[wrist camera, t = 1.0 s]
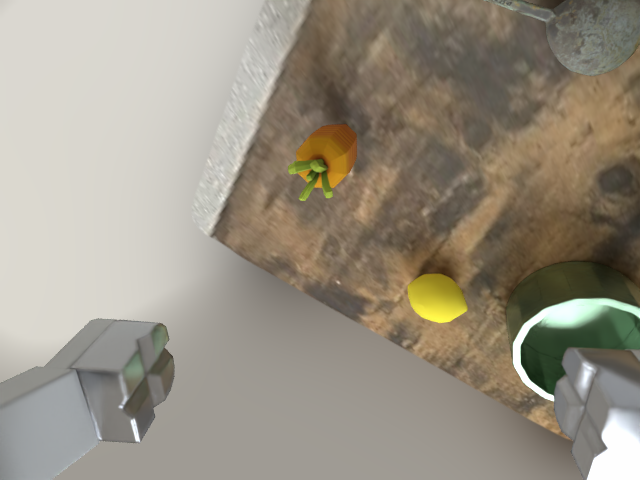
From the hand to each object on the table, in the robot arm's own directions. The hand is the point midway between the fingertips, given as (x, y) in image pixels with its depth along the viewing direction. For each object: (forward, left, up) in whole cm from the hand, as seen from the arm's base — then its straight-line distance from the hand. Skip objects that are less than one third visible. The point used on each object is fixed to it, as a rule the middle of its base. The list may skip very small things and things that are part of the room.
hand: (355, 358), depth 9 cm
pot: (+10, +28, -39) cm, 49 cm away
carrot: (+9, -4, -39) cm, 41 cm away
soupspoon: (-9, +1, -39) cm, 40 cm away
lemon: (+17, +15, -39) cm, 46 cm away
